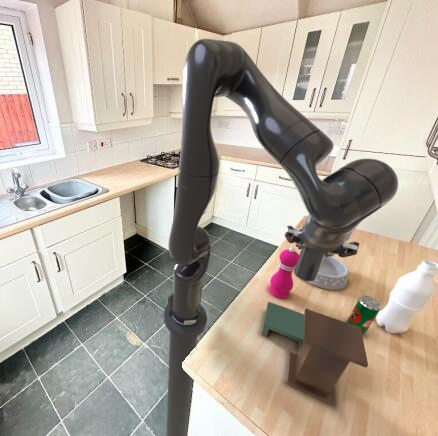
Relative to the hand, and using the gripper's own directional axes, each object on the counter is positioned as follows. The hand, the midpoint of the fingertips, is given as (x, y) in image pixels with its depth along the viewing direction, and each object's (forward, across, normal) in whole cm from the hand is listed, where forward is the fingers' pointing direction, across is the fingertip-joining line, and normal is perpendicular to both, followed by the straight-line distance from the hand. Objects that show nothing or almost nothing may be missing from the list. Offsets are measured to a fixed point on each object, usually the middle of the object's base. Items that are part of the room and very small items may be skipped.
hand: (313, 249), depth 62 cm
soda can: (+30, -18, +13) cm, 37 cm away
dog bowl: (+46, -7, -4) cm, 47 cm away
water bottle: (+35, -26, +8) cm, 44 cm away
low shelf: (+20, 0, +22) cm, 30 cm away
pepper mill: (+32, +4, +11) cm, 34 cm away
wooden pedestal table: (+12, -8, +30) cm, 34 cm away
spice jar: (+4, 0, +6) cm, 7 cm away
